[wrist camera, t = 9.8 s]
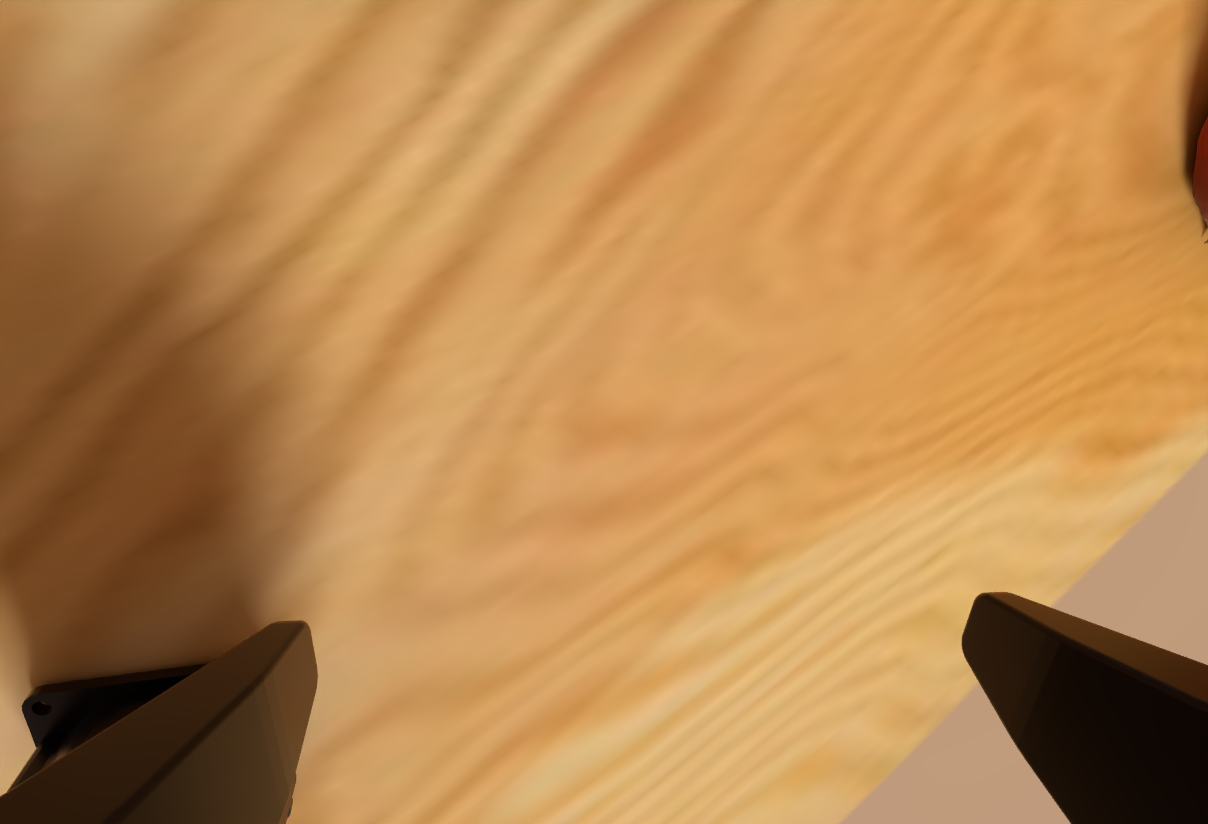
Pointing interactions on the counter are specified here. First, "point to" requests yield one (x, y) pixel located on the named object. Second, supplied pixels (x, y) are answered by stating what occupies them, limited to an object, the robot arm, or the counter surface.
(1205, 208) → the fruit
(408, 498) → the counter surface
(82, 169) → the counter surface
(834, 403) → the counter surface
